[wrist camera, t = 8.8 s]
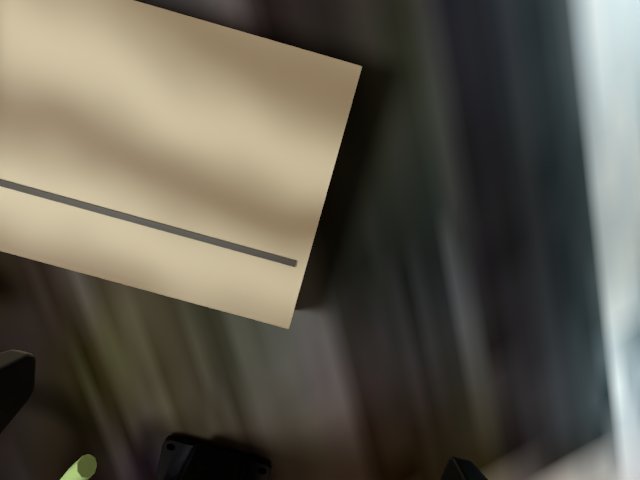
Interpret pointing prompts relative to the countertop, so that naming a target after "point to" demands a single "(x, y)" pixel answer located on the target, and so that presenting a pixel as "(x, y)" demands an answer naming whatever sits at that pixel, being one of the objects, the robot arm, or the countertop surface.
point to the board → (166, 151)
